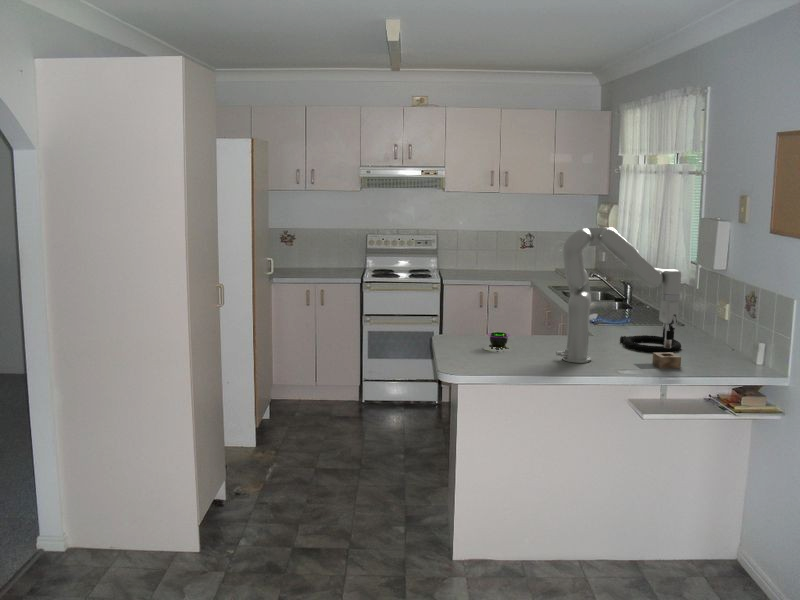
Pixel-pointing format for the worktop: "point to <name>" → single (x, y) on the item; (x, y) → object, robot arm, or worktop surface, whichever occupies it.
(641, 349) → the cable lock
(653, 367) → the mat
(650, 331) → the worktop surface
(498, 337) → the toy cauldron
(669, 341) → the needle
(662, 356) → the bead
